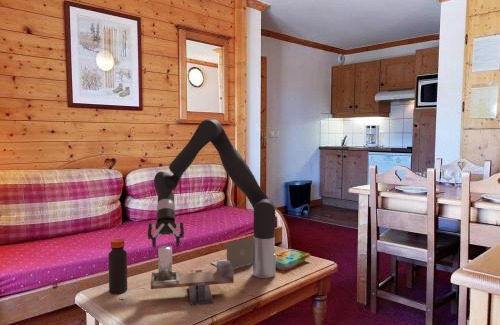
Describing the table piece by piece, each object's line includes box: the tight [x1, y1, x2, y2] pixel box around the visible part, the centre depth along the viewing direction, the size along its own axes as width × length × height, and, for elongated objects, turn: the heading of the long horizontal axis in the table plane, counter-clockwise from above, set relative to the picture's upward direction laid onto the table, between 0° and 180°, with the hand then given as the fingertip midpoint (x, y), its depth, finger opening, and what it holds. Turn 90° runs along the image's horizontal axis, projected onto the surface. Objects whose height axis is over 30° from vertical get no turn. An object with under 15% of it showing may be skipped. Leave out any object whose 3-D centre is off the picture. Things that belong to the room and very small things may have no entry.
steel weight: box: [157, 245, 173, 281], centre depth 140 cm, size 5×5×12 cm
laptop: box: [210, 236, 254, 270], centre depth 179 cm, size 18×12×13 cm
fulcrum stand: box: [188, 269, 214, 307], centre depth 143 cm, size 8×16×7 cm, turn 12°
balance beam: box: [150, 260, 235, 290], centre depth 142 cm, size 30×10×5 cm, turn 102°
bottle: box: [107, 238, 128, 295], centre depth 146 cm, size 7×7×20 cm
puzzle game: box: [274, 248, 311, 272], centre depth 180 cm, size 12×5×20 cm
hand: (166, 247), depth 148 cm, fingers open, 8 cm apart
